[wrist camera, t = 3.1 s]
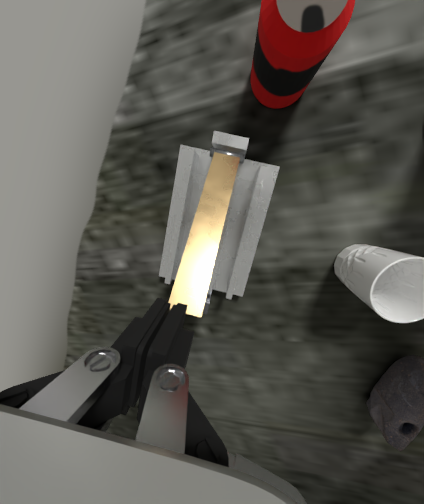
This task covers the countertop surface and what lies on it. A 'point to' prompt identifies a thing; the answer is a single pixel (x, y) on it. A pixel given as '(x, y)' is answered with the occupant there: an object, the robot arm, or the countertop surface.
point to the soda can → (294, 46)
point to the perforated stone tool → (399, 401)
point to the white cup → (384, 280)
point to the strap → (206, 233)
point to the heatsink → (237, 218)
